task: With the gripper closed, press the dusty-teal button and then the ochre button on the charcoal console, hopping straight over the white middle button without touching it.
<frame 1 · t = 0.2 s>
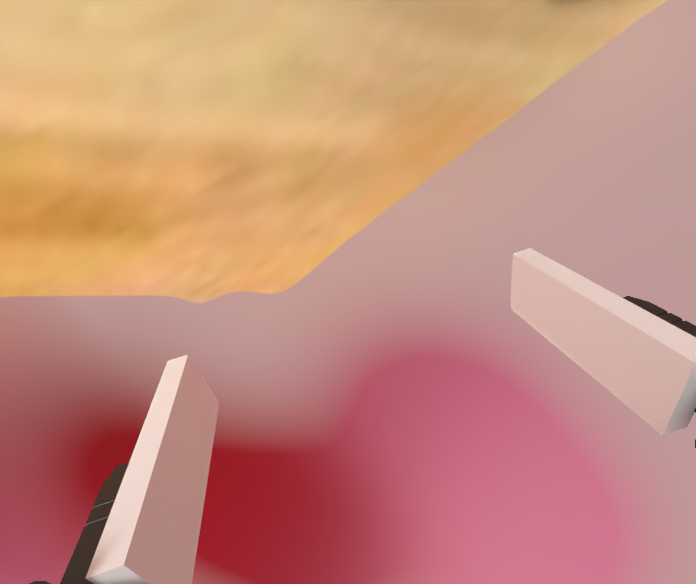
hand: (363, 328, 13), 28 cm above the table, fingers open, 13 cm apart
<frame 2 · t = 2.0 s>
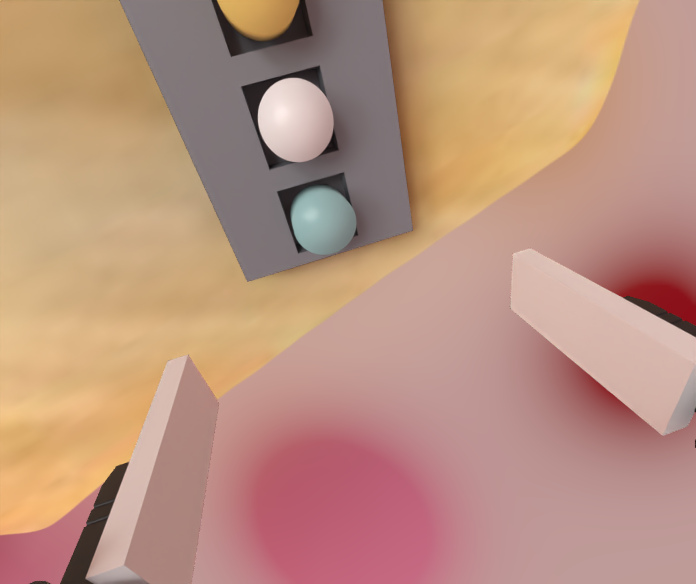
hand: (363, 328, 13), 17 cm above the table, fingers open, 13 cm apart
button white: (294, 121, 21), point 4 cm above the table, slide at 0.0 cm
button teal: (322, 219, 24), point 4 cm above the table, slide at 0.0 cm
console: (290, 118, 24), on the table
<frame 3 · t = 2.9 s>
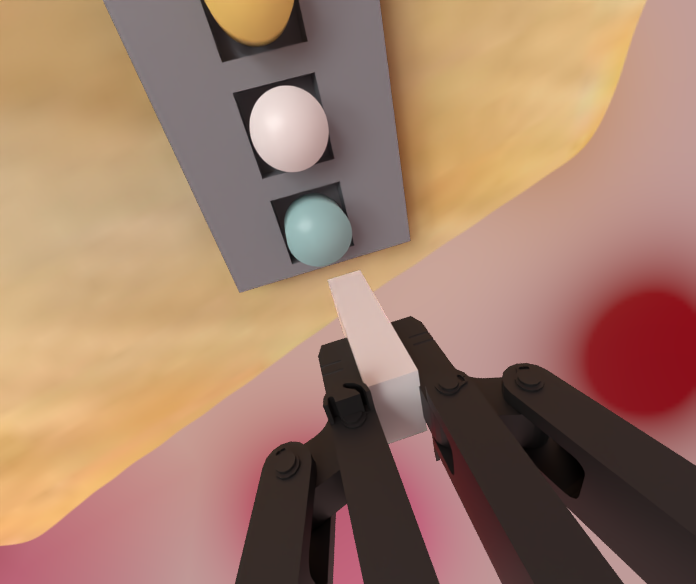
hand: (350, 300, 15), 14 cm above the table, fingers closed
button white: (288, 129, 20), point 4 cm above the table, slide at 0.0 cm
button teal: (317, 229, 23), point 4 cm above the table, slide at 0.0 cm
console: (284, 125, 23), on the table
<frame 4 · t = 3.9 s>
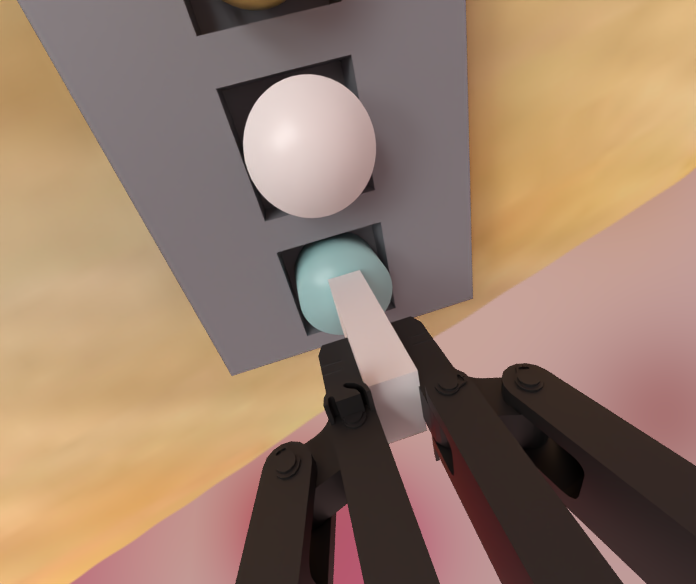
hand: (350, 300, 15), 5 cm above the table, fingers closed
button white: (307, 148, 12), point 4 cm above the table, slide at 0.0 cm
button teal: (341, 282, 17), point 3 cm above the table, slide at 1.2 cm, touching gripper
console: (297, 138, 16), on the table
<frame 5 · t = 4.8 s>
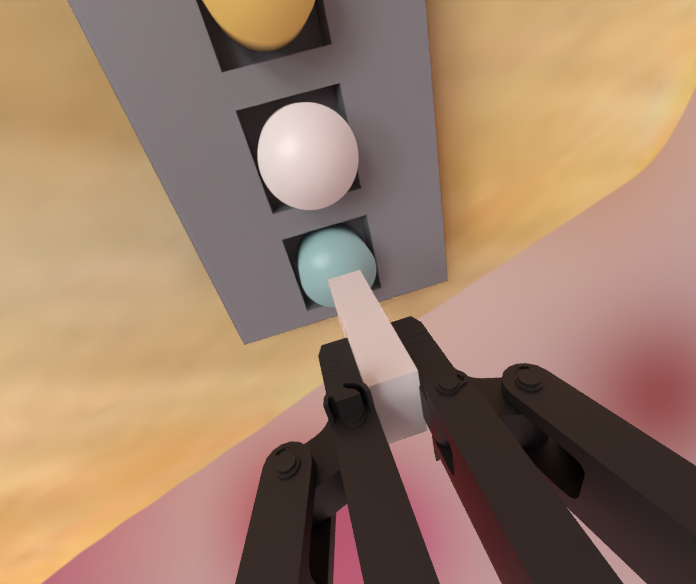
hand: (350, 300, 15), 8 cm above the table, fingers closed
button white: (306, 155, 16), point 4 cm above the table, slide at 0.0 cm
button teal: (334, 264, 20), point 3 cm above the table, slide at 1.3 cm
console: (298, 146, 19), on the table
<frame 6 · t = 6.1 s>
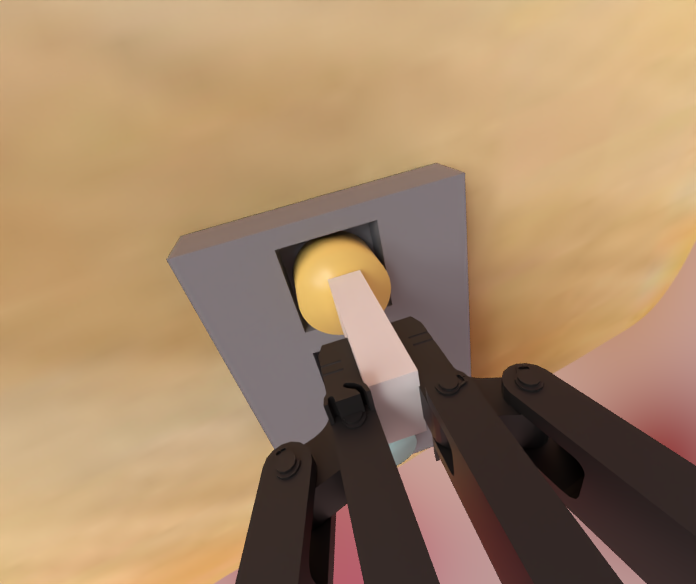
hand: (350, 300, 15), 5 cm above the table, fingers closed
button ochre: (339, 282, 17), point 3 cm above the table, slide at 0.9 cm, touching gripper
button teal: (380, 432, 24), point 3 cm above the table, slide at 1.3 cm
console: (351, 340, 23), on the table
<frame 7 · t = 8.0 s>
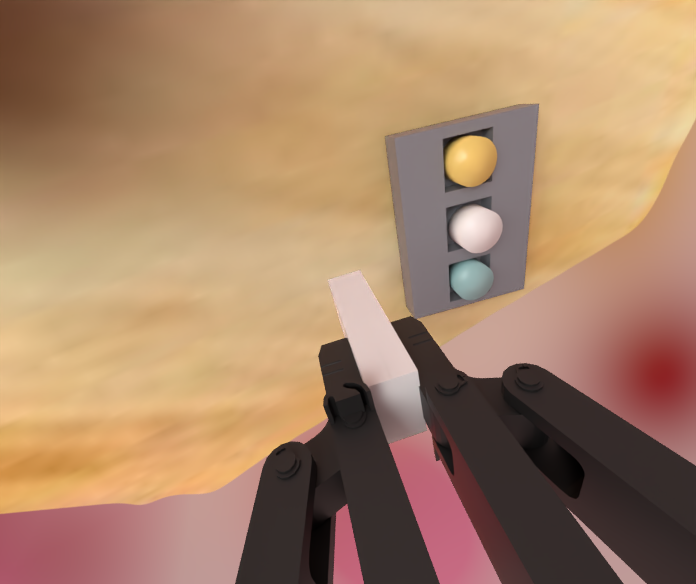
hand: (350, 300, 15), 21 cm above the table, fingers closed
button white: (474, 228, 34), point 4 cm above the table, slide at 0.0 cm
button ochre: (467, 160, 32), point 3 cm above the table, slide at 1.3 cm
button teal: (469, 277, 39), point 3 cm above the table, slide at 1.3 cm
console: (455, 217, 38), on the table
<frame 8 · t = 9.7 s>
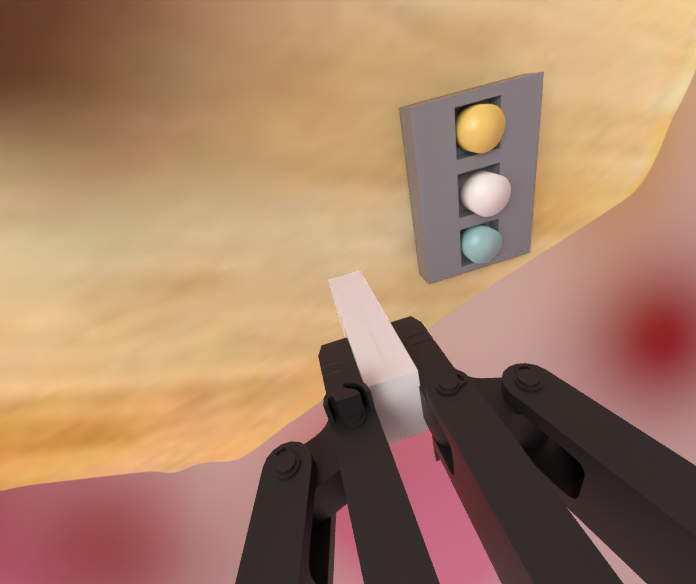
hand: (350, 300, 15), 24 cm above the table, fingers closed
button white: (484, 193, 37), point 4 cm above the table, slide at 0.0 cm
button ochre: (477, 128, 34), point 3 cm above the table, slide at 1.3 cm
button teal: (478, 242, 41), point 3 cm above the table, slide at 1.3 cm
console: (465, 185, 40), on the table
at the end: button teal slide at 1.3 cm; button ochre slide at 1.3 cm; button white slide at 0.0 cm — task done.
